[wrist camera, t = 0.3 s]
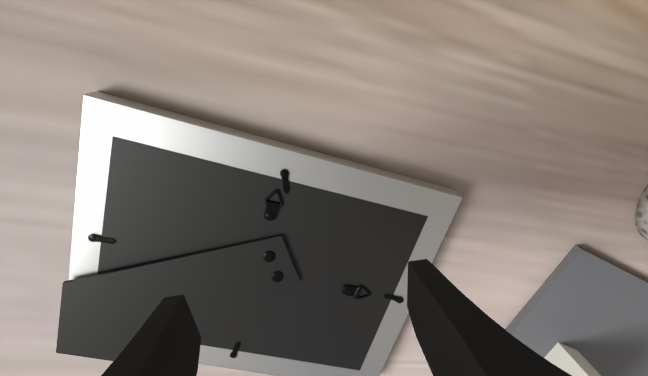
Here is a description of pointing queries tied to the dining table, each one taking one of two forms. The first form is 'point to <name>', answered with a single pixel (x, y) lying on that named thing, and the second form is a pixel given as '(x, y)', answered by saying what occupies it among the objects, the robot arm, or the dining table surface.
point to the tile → (570, 361)
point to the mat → (589, 315)
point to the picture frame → (240, 243)
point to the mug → (642, 214)
